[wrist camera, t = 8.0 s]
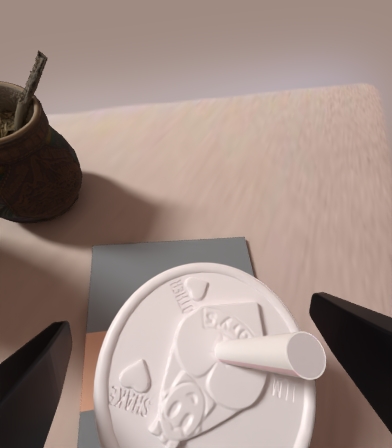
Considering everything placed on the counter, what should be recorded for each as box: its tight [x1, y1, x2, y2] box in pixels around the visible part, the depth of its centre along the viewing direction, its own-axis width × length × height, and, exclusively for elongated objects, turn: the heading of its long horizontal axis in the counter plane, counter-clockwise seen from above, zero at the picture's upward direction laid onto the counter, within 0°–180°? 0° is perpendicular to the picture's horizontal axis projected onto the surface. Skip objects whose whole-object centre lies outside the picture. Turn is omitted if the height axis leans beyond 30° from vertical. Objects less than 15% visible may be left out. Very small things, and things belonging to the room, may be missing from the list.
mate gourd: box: [0, 51, 82, 223], centre depth 15 cm, size 7×8×10 cm
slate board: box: [77, 237, 254, 448], centre depth 15 cm, size 16×12×1 cm
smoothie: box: [93, 263, 326, 448], centre depth 9 cm, size 6×6×14 cm
